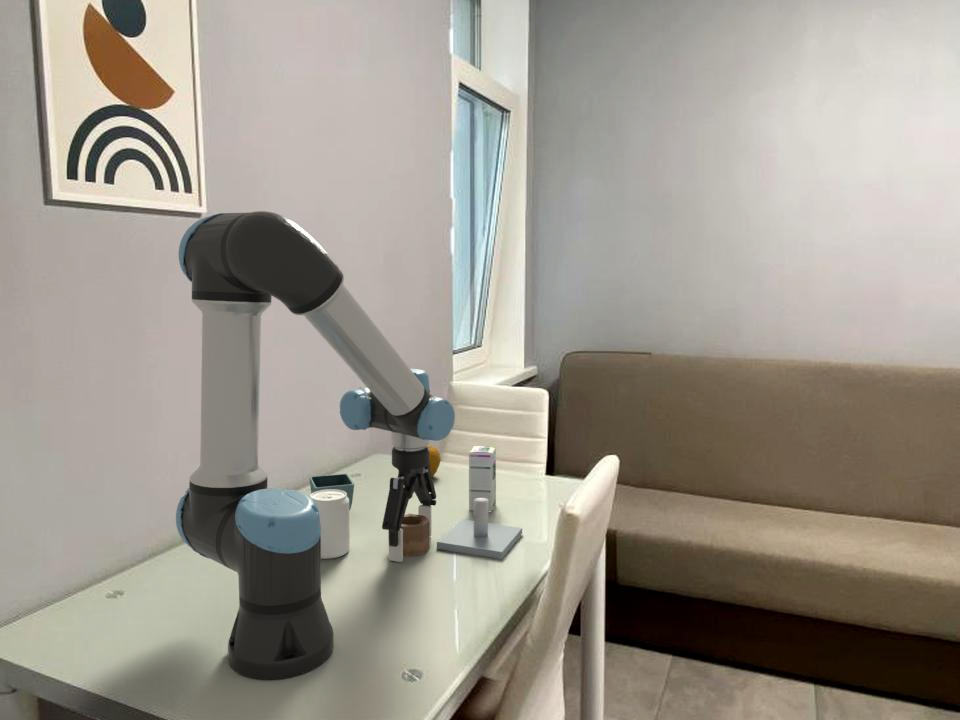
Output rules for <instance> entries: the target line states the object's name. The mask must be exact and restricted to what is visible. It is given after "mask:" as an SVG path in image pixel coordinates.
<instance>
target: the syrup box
mask: <svg viewBox="0 0 960 720" xmlns="http://www.w3.org/2000/svg"><path fill="white" fill-rule="evenodd" d="M496 459H497V448H496V447H494V446H487V445H475V446H474V445H473V447H472V448H471V449H470V451H469V452H468V509H469V511H471V510H474V499H476V498H486V499H488V511H492V510H493V511H494V509H495V507H494V506H496V504H497V499H496V497H497V494H496V493H497V490H496V489H497V460H496ZM493 508H494V509H493ZM493 511H492V512H493Z"/></svg>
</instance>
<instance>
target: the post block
mask: <svg viewBox="0 0 960 720" xmlns="http://www.w3.org/2000/svg"><path fill="white" fill-rule="evenodd" d="M521 534H522V535H523V527H520V526H519V527H518V526H511V525H504V524H497V523H490V522H489V512H488V499H486V498H476V499H474V511H473V520H470V519H460V520H459V521H458V522H457V523H456V524H455V525H454V526H452V527H451V528H450V529H449V530H448V531H447V532H446V533H445V534H443V536H441V537H440V539H438V540H437V541H436V550H437V549H438V550H443V551H448V552H455V553H460V554H466V555H473V556H479V557H487V558H492V559H498V560H503V558H504V557H505V556H506V555H507V554H508V552H509V551H510V550H511V549H512V548H513V546H514V545H515V544H516V543H517V541H519V539H520V538H521V537H522V535H521ZM520 536H521V537H520ZM519 537H520V538H519ZM518 538H519V539H518ZM515 542H516V543H515ZM514 543H515V544H514Z"/></svg>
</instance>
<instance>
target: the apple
mask: <svg viewBox="0 0 960 720" xmlns="http://www.w3.org/2000/svg"><path fill="white" fill-rule="evenodd" d="M427 446H428V448H429V462H430V472H431V476H432V478H433V477H434V476H435V475H436V473H437V472H438V469H439V466H440V464H441V456H440V451H439V450H438V449H437V448H436V446H433V445H427Z"/></svg>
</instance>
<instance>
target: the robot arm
mask: <svg viewBox="0 0 960 720" xmlns="http://www.w3.org/2000/svg"><path fill="white" fill-rule="evenodd" d="M178 261H179V265H180V269H181V271H182V273H183V275H185V277H186V278H187V280H188V281H189V282H190V283H191V302H192V303H193V304H194V306H196V307H197V308H198V309H199V311H201V316H202V318H201V324H202V325H201V383H200V384H201V385H200V386H201V387H200V388H201V389H200V391H201V392H200V394H201V395H200V451H199V452H200V454H199V455H200V459H199V461H200V462H199V464H200V465H199V467H198V468H197V469H196V470H195V471H194V472H192V474H190V475H189V481H188V482H189V486H188V488H187V489H186V491H185V494H184V495H183V496H181V497H180V499H179V502H178V504H177V507H176V512H175V523H176V530H177V532H178V535H179V536H180V538H181V539H182V541H183V542H184V543H185V544H186V545H187V546H188V547H190V549H192V551H194V552H196V553H197V554H199V556H202V557H204V558H206V559H210V560H212V561H214V562H216V563H218V564H219V565H222V566H224V567H225V568H228V569H229V570H232V571H233V572H235V573H237V576H238V599H239V600H238V601H239V605H238V609H237V612H236V617H235V619H234V623H233V626H232V630H231V632H230V635H229V639H228V643H227V655H228V656H227V657H228V658H227V659H228V664H229V666H230V668H231V669H232V670H234V672H237V673H238V674H240V675H242V676H245V677H247V678H253V679H257V680H278V679H286V678H287V679H288V678H291V677H295V676H299V675H301V674H304V673H307V672H309V671H312V670H314V669H316V668H317V667H319V666H321V665H322V664H323V663H324V662H326V661H327V660H328V658H329V657H330V656H331V655H332V653H333V651H334V648H335V645H334V644H335V641H334V640H335V639H334V628H333V626H332V624H331V622H330V619H329V616H328V613H327V610H326V607H325V604H324V601H323V599H322V581H321V580H322V574H321V573H322V565H321V564H322V563H321V562H322V559H321V523H320V516H319V509H318V506H317V504H316V503H315V501H314V500H313V499H312V498H310V495H307V494H306V493H303V492H301V491H298V490H295V489H283V488H279V487H278V488H277V487H273V488H268V473H267V472H266V471H265V470H264V469H263V468H262V467H261V466H260V465H259V430H260V429H259V427H260V426H259V425H260V424H259V423H260V376H261V375H260V373H261V336H262V335H261V331H262V330H261V329H262V328H261V325H262V315H263V313H264V312H265V311H266V310H267V309H269V307H270V306H271V305H272V297H273V298H275V299H276V300H278V301H279V302H281V303H282V304H283V305H284V306H285V307H286V308H287V309H288V310H289V311H290V313H292V314H293V315H294V316H295V315H296V316H303V317H305V319H306V320H307V321H308V322H309V323H310V324H311V326H312V327H313V328H314V329H315V330H316V331H317V332H318V334H320V336H322V338H323V339H324V340H325V342H327V344H328V345H329V346H330V347H331V348H332V349H333V351H334V352H335V353H336V354H337V355H338V356H339V357H340V359H341V360H342V361H343V362H344V363H345V364H346V365H347V367H349V369H350V370H351V371H352V372H353V373H354V374H355V376H356V377H357V378H358V379H359V380H360V381H361V382H362V383H363V385H365V387H361V386H360V387H358V388H355V389H352V390H351V389H350V390H348V391H346V392H345V393H344V394H343V395H342V397H341V399H340V401H339V414H340V419H341V420H342V422H343V424H344V425H345V426H346V427H347V429H350V430H352V431H360V430H362V431H365V430H367V429H370V428H371V429H372V428H373V429H374V428H375V429H378V430H383V431H387V432H391V442H390V443H391V445H392V449H391V464H392V466H393V467H394V468H396V470H397V471H398V472H397V477H390V479H389V488H388V489H389V490H388V495H387V500H386V505H385V510H384V515H383V521H382V525H381V529H382V530H386V531H388V561H390V562H391V561H392V562H398V563H402V562H404V556H403V529H400V528H401V524H402V521H403V518H404V515H406V511H407V507H408V503H409V500H411V499H412V498H413V496H414V494H415V495H416V498H417V499H418V501H419V503H420V504H419V505H418V509H417V510H418V511H417V513H418V514H417V515H423V516H425V517H426V518H427V519H429V520H430V534H429V538H430V537H431V536H432V506H433V507H434V506H436V504H437V500H436V499H437V492H436V489H435V485H434V481H433V477H432V476H431V472H430V462H429V448H428V446H429V444H430V441H434V442H435V441H438V442H439V441H442V440H443V439H445V438H447V437H448V436H449V435H450V433H451V432H452V430H453V428H454V425H455V421H456V420H455V419H456V413H455V409H454V407H453V404H452V402H450V401H449V400H447V399H445V398H441V396H433V395H432V394H431V390H430V377H429V374H428V373H427V371H425V370H423V369H417V368H410V367H409V365H408V364H407V363H406V361H404V359H403V358H402V357H401V356H400V354H399V353H398V352H397V350H396V349H395V347H393V345H392V344H391V343H390V342H389V340H388V339H387V338H386V337H385V335H384V334H383V333H382V332H381V330H380V329H379V327H378V326H377V325H376V324H375V322H374V320H372V319H371V317H370V316H369V315H368V314H367V312H366V311H365V310H364V309H363V307H362V306H361V305H360V304H359V302H358V301H357V299H356V298H355V297H354V296H353V295H352V294H351V292H350V291H349V289H348V288H347V286H345V284H344V282H345V273H344V272H343V271H342V269H341V268H340V266H338V264H337V263H336V262H335V261H334V259H333V258H332V257H331V256H330V255H329V253H328V252H327V251H326V250H325V249H324V248H323V246H322V245H321V244H320V243H319V242H317V240H316V239H314V237H312V235H310V234H309V233H308V232H307V231H306V230H305V229H303V228H302V227H301V226H299V224H297V223H296V222H294V221H293V220H291V219H289V218H287V217H286V216H283V215H281V214H278V213H276V212H272V211H271V212H270V211H264V210H261V211H251V212H226V213H225V212H223V213H222V212H221V213H217V214H212V215H209V216H205V217H202V218H200V219H199V220H197V221H195V222H193V223H192V225H191V226H189V227H188V229H187V230H185V233H184V234H183V236H182V237H181V240H180V241H179V247H178Z"/></svg>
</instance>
